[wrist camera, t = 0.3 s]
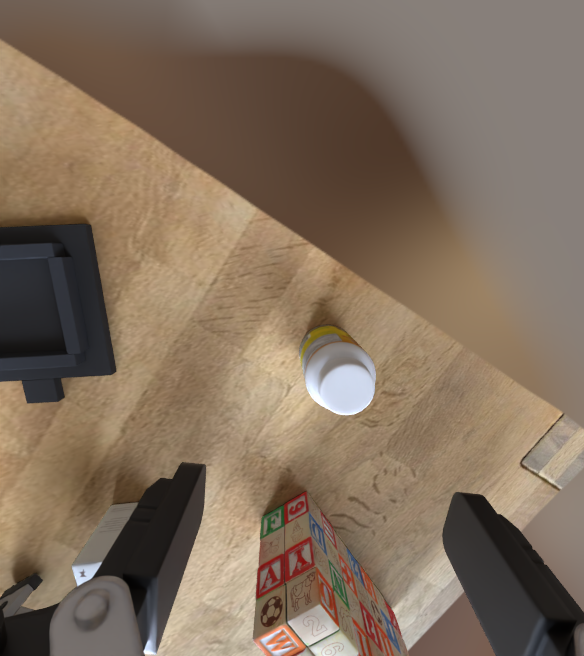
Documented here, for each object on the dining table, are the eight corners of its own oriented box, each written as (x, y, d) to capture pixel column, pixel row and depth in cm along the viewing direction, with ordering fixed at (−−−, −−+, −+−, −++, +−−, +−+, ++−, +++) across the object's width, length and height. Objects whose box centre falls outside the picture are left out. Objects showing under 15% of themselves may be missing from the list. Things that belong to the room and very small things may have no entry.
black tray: (-99, 232, 28) (-134, 230, 26) (91, 224, 29) (74, 221, 26) (-48, 404, 32) (-75, 416, 29) (120, 394, 32) (107, 405, 30)
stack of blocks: (395, 610, 40) (445, 760, 28) (352, 633, 41) (384, 790, 29) (305, 489, 36) (320, 606, 24) (259, 516, 36) (250, 644, 24)
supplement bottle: (359, 365, 33) (395, 412, 23) (307, 382, 33) (321, 436, 23) (344, 315, 32) (375, 341, 22) (291, 333, 32) (298, 367, 22)
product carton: (120, 548, 36) (82, 620, 29) (110, 502, 35) (68, 566, 28) (174, 543, 37) (150, 613, 29) (166, 497, 35) (138, 559, 28)
